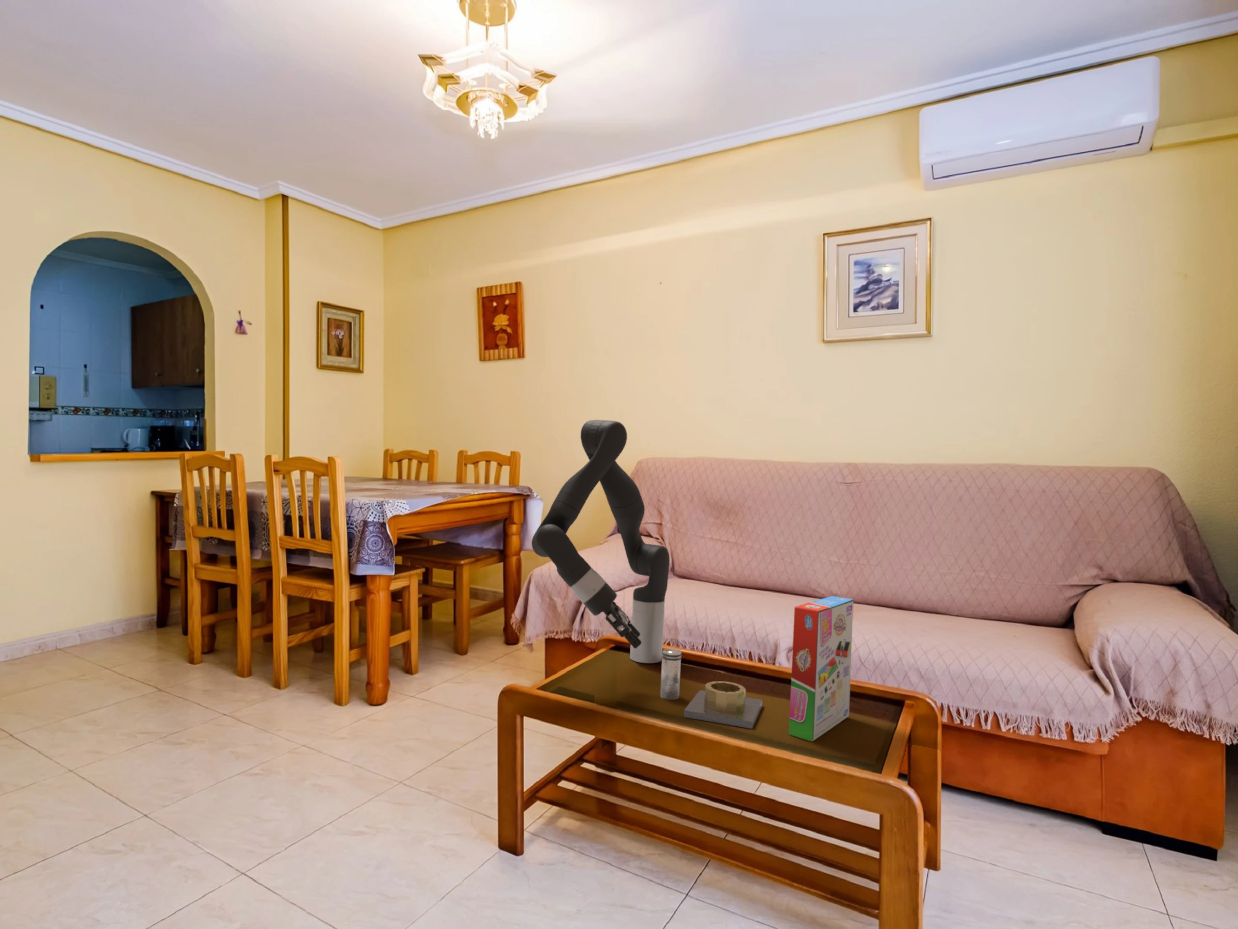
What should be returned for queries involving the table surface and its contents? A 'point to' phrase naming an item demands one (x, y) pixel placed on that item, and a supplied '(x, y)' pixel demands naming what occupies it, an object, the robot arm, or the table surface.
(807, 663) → the game box
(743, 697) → the tan pot on tray
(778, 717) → the table surface
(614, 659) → the table surface
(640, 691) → the table surface
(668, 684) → the piston
